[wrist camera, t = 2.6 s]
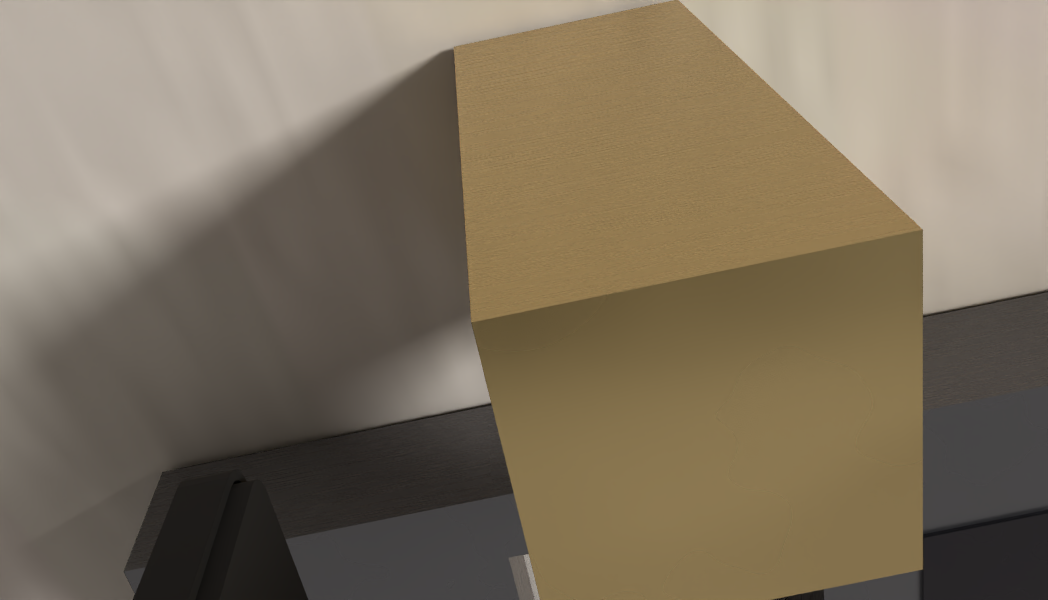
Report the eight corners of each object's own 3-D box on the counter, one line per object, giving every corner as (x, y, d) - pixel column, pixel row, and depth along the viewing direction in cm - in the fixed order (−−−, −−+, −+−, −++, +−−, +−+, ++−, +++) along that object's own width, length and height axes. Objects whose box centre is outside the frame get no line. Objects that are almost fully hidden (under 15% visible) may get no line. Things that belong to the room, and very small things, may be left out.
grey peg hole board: (162, 472, 21) (122, 575, 19) (1097, 281, 21) (1197, 358, 18) (289, 748, 26) (271, 865, 23) (1068, 595, 25) (1144, 695, 22)
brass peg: (453, 46, 18) (470, 322, 9) (677, -1, 18) (922, 229, 9) (498, 249, 19) (551, 642, 11) (701, 206, 19) (922, 569, 11)
